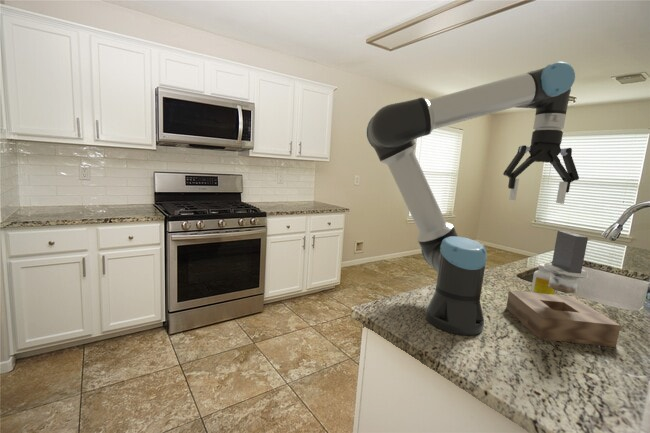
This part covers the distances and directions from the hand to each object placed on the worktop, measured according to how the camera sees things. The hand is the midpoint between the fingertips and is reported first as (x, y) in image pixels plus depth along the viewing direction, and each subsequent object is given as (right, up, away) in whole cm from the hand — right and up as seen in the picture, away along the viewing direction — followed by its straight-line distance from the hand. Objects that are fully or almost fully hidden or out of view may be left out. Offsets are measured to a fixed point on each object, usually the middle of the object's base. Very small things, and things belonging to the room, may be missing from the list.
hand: (535, 201), depth 99 cm
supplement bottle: (+10, -34, +13) cm, 38 cm away
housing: (+2, -36, -5) cm, 37 cm away
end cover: (+3, -25, -7) cm, 26 cm away
